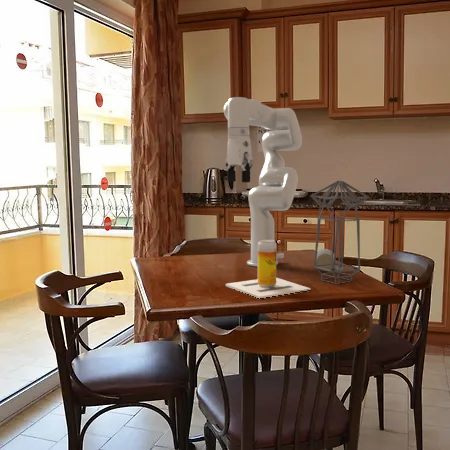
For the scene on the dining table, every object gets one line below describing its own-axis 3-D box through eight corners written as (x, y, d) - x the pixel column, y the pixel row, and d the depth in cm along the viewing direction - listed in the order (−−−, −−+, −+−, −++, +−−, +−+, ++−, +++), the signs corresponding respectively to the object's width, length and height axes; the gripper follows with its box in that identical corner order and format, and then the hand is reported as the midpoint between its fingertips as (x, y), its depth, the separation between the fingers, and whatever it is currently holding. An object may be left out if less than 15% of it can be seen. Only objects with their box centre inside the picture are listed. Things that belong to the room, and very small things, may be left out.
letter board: (274, 279, 187) (274, 276, 186) (310, 290, 169) (310, 288, 169) (225, 286, 177) (225, 283, 176) (259, 299, 159) (259, 296, 159)
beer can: (275, 288, 170) (275, 242, 168) (256, 287, 171) (256, 241, 169) (277, 284, 176) (277, 239, 174) (258, 283, 177) (259, 239, 175)
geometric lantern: (305, 279, 186) (307, 180, 183) (338, 275, 194) (341, 180, 191) (335, 287, 173) (338, 180, 170) (370, 283, 181) (373, 181, 178)
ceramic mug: (315, 272, 198) (316, 251, 197) (315, 267, 206) (315, 248, 206) (344, 273, 197) (344, 253, 196) (342, 269, 205) (343, 249, 204)
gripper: (261, 132, 180) (260, 182, 182) (234, 134, 195) (234, 181, 197) (242, 131, 177) (242, 182, 179) (217, 134, 191) (217, 181, 194)
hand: (238, 181), depth 188 cm, fingers open, 9 cm apart
